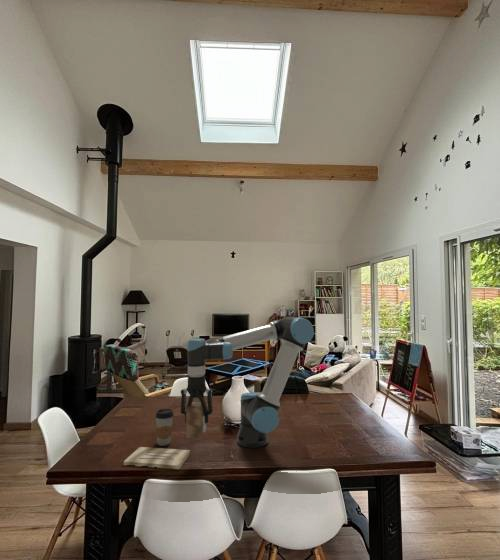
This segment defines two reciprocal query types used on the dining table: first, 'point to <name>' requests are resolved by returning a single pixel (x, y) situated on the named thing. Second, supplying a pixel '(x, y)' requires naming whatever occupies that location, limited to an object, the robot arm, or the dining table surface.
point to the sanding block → (194, 421)
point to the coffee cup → (164, 426)
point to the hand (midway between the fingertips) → (196, 430)
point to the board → (158, 457)
